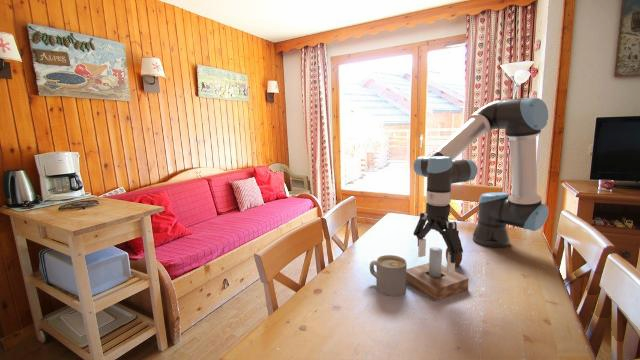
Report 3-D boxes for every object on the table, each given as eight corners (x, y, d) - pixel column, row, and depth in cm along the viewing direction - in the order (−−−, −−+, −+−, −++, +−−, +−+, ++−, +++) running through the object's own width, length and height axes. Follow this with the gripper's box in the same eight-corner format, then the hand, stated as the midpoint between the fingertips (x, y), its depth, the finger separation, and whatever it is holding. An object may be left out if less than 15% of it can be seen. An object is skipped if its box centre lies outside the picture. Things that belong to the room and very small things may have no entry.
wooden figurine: (463, 269, 120) (465, 231, 117) (447, 268, 121) (449, 231, 118) (459, 261, 126) (461, 226, 123) (444, 260, 127) (445, 225, 125)
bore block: (434, 271, 119) (434, 261, 118) (467, 289, 105) (468, 278, 105) (403, 280, 112) (403, 270, 112) (434, 301, 99) (435, 289, 98)
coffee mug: (412, 289, 106) (412, 262, 105) (392, 299, 101) (392, 270, 99) (382, 274, 117) (383, 249, 115) (363, 283, 111) (363, 256, 110)
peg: (434, 278, 111) (435, 246, 109) (443, 283, 108) (444, 250, 106) (425, 280, 110) (427, 248, 108) (434, 285, 106) (435, 252, 104)
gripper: (404, 197, 113) (403, 252, 117) (460, 214, 91) (456, 281, 95) (420, 194, 116) (418, 248, 120) (478, 210, 94) (474, 275, 98)
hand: (435, 263), depth 107 cm, fingers open, 12 cm apart
